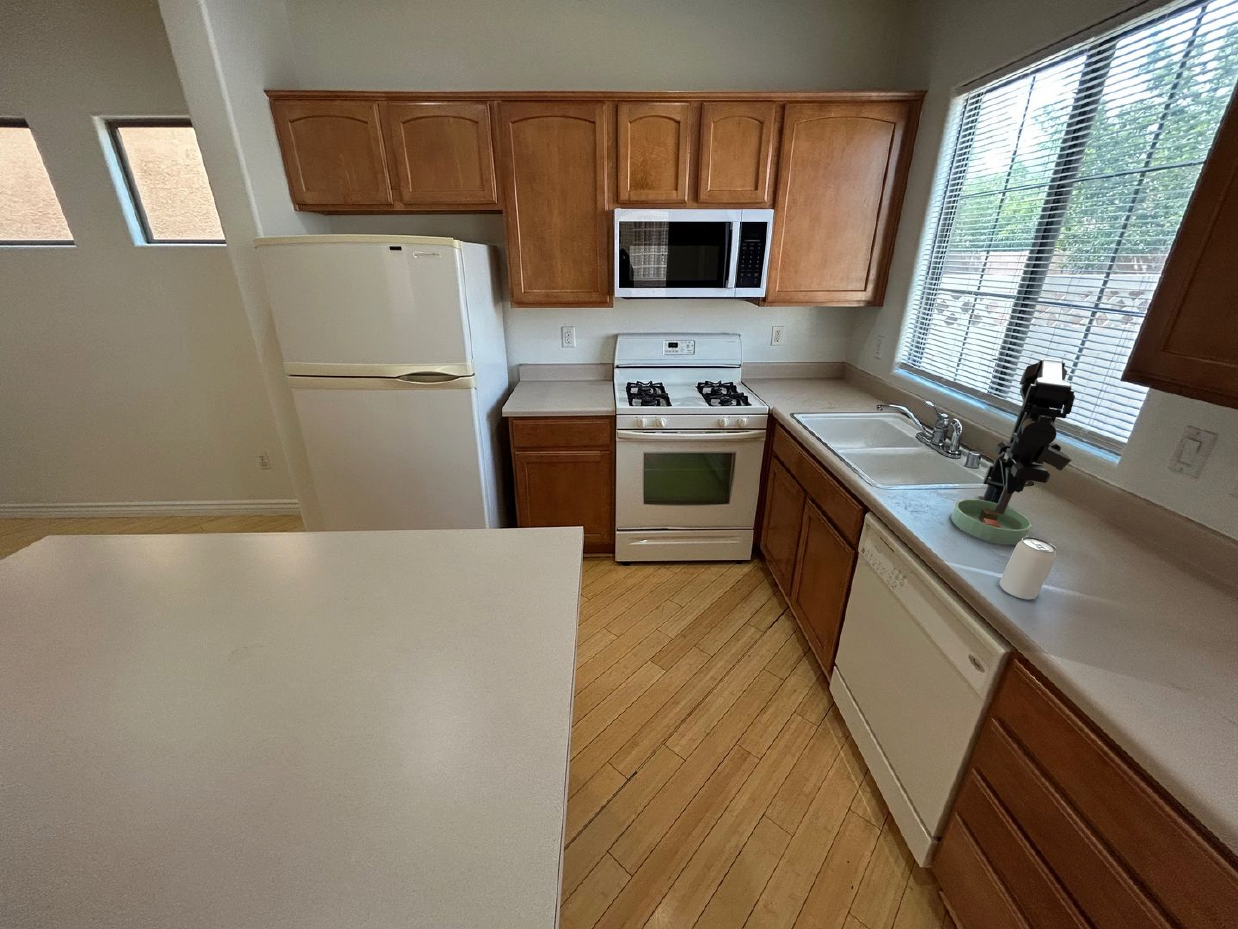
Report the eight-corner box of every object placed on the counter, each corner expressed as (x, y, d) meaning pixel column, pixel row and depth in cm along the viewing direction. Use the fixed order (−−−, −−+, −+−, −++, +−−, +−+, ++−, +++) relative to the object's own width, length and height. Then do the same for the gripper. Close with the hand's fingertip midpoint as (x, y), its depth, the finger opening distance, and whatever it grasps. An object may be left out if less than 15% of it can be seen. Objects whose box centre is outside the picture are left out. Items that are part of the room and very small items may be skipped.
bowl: (946, 508, 135) (951, 494, 133) (1014, 521, 129) (1021, 507, 127) (956, 535, 122) (962, 520, 120) (1033, 552, 116) (1041, 537, 114)
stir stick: (993, 509, 123) (1010, 467, 118) (1002, 511, 122) (1020, 469, 117) (995, 513, 121) (1013, 471, 116) (1005, 514, 121) (1023, 472, 116)
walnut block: (978, 517, 129) (982, 508, 128) (992, 520, 128) (995, 510, 127) (981, 522, 127) (985, 513, 126) (994, 525, 126) (998, 515, 125)
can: (1022, 582, 105) (1044, 536, 100) (1043, 602, 99) (1068, 554, 94) (991, 580, 105) (1012, 534, 100) (1010, 599, 99) (1033, 552, 94)
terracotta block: (979, 527, 124) (983, 518, 123) (993, 530, 123) (997, 520, 122) (982, 533, 122) (986, 523, 121) (996, 536, 121) (1000, 526, 120)
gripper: (1092, 454, 102) (1061, 516, 109) (1059, 427, 118) (1035, 483, 124) (1029, 445, 106) (1003, 505, 113) (1005, 420, 122) (984, 474, 128)
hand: (1008, 491), depth 119 cm, fingers closed on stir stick, 2 cm apart
